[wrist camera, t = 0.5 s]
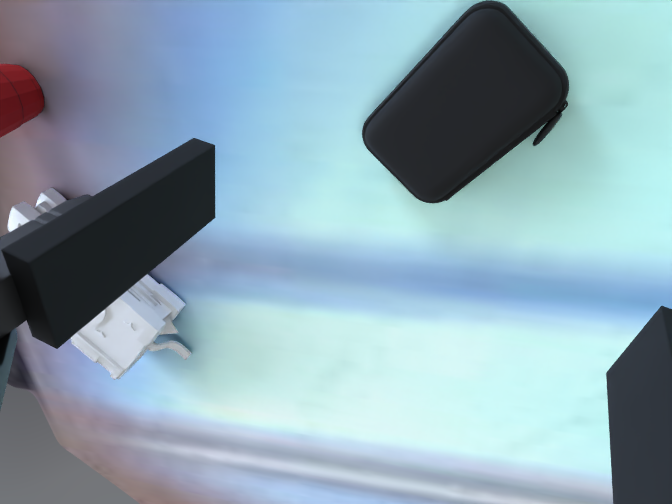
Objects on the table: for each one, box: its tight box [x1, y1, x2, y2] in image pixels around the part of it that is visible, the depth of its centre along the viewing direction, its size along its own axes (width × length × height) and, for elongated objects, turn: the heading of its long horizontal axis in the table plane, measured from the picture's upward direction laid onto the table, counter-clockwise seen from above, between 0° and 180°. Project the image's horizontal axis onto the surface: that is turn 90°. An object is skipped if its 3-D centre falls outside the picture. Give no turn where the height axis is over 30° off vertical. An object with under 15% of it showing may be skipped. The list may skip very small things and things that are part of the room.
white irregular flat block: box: [8, 188, 192, 380], centre depth 65 cm, size 19×28×8 cm
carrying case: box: [362, 1, 569, 203], centre depth 37 cm, size 11×3×15 cm
